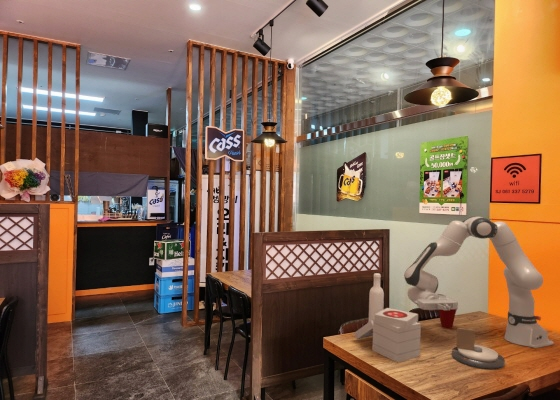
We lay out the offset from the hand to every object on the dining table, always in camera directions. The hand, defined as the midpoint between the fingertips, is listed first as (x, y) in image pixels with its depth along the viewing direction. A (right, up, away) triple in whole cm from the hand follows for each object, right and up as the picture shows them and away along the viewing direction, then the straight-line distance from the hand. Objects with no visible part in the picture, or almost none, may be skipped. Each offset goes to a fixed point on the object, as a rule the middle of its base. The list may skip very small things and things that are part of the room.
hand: (447, 308), depth 184 cm
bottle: (-28, -18, +26) cm, 43 cm away
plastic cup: (+14, -20, +32) cm, 40 cm away
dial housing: (+8, -19, -13) cm, 24 cm away
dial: (+8, -17, -13) cm, 22 cm away
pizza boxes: (-31, -18, -4) cm, 36 cm away
